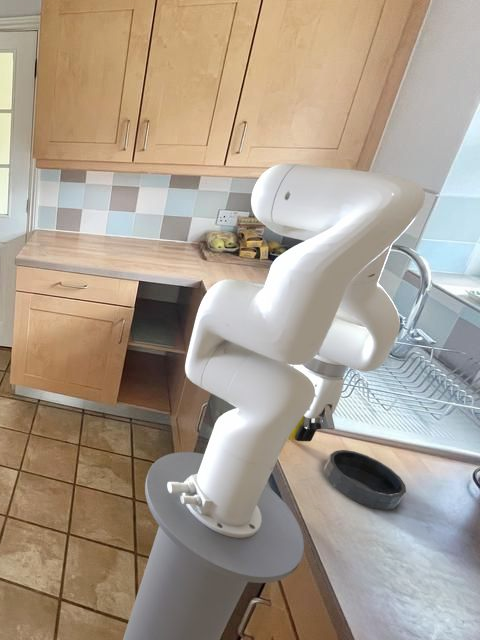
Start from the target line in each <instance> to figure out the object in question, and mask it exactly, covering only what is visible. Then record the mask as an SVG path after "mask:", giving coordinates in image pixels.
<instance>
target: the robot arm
mask: <svg viewBox="0 0 480 640" xmlns="http://www.w3.org/2000/svg"><path fill="white" fill-rule="evenodd" d="M425 199H426V193H425V190H424V189H423V187H421V186H420V185H419V184H418V183H417V182H415V181H412V180H410V179H407V178H404V177H402V176H396V175H392V174H387V173H381V172H375V171H366V170H358V169H348V168H336V167H327V166H319V165H309V164H301V163H300V164H299V163H279V164H276V165H273V166H272V167H269V168H268V169H267V170H265V171H264V172H263V173H262V174H261V175H260V176H259V178H258V179H257V181H256V183H255V184H254V187H253V189H252V193H251V198H250V205H251V210H252V213H253V215H254V216H255V219H257V220H258V221H259V222H260V223H261V224H263V225H264V226H265V227H266V228H267V229H269V230H270V231H272V232H273V233H275V234H277V235H279V236H282V237H286V238H290V239H296V240H298V241H299V240H300V241H302V242H300V243H298V244H296V245H294V246H292V247H291V248H288V250H286V251H284V252H283V253H281V254H280V255H279V256H277V257H276V258H275V259H274V261H273V262H272V263H271V265H270V267H269V272H268V274H267V277H266V280H265V283H264V286H260V285H257V284H254V283H251V282H247V281H245V280H240V279H235V278H227V279H222V280H219V281H217V282H216V283H214V284H213V285H212V286H211V287H210V288H209V289H208V290H207V292H206V293H205V295H204V296H203V298H202V300H201V302H200V305H199V307H198V310H197V313H196V315H195V320H194V325H193V329H192V333H191V336H190V341H189V346H188V350H187V353H186V359H185V364H184V372H185V375H186V377H187V379H188V380H189V381H190V382H191V383H193V384H194V385H196V386H197V387H199V388H201V389H202V390H204V391H206V392H208V393H209V394H211V395H213V396H215V397H217V398H218V399H221V400H223V401H225V402H226V403H228V404H229V405H232V406H233V407H235V408H233V409H231V410H228V411H226V412H224V413H223V414H222V415H220V416H219V417H218V418H217V419H216V420H215V421H216V422H215V423H214V426H213V428H212V431H211V435H210V437H209V440H208V443H207V446H206V448H205V452H204V453H203V454H204V457H203V460H202V463H201V466H200V469H199V471H198V474H195V475H191V476H190V477H189V478H187V479H186V481H184V483H179V482H168V483H167V488H168V491H169V492H170V493H182V495H183V496H182V495H181V497H180V499H181V503H182V504H186V506H187V507H188V509H189V510H190V511H191V513H192V514H193V515H194V516H195V517H196V518H197V519H198V520H199V521H200V522H202V523H203V524H204V525H206V526H207V527H209V528H210V529H212V530H214V531H216V532H218V533H220V534H223V535H226V536H230V537H235V538H246V537H250V536H252V535H254V534H255V533H256V532H257V531H258V530H259V528H260V526H261V522H262V519H261V513H260V510H259V508H258V506H257V503H258V501H259V499H260V497H261V495H262V492H263V490H264V488H265V486H266V485H268V484H267V483H268V482H269V479H270V477H271V475H272V473H273V471H274V468H275V466H276V464H277V462H278V460H279V458H280V455H281V453H282V451H283V449H284V447H285V445H286V443H287V441H288V440H289V439H288V437H289V436H290V434H291V432H292V431H293V429H294V428H295V427H296V425H297V424H298V423H299V421H300V420H301V419H302V417H303V416H304V417H305V419H304V425H301V426H300V427H299V430H298V432H297V434H296V436H295V439H296V440H295V441H296V442H311V441H312V440H313V438H314V436H315V434H316V432H317V430H335V429H336V427H335V422H334V417H333V415H334V413H335V411H336V408H337V406H338V404H339V401H340V399H341V396H342V392H343V388H344V384H345V378H344V376H345V375H346V372H347V370H348V369H349V368H350V369H353V370H355V371H358V372H362V373H363V372H364V373H366V372H373V371H376V370H378V369H380V367H382V365H384V363H385V362H386V361H387V359H388V358H389V356H390V354H391V351H392V349H393V347H394V346H395V342H396V341H397V338H398V335H399V333H400V329H401V320H400V319H401V317H400V313H399V312H398V311H399V310H398V309H397V307H396V304H395V303H394V301H393V300H392V298H391V297H390V295H389V294H388V292H386V290H385V289H384V288H383V287H382V286H381V285H380V283H379V281H380V278H381V276H382V273H383V271H384V268H385V265H386V263H387V260H388V257H389V254H390V252H391V250H392V246H393V244H394V243H395V242H396V241H397V240H398V239H399V238H400V237H401V236H402V235H403V234H404V233H405V232H406V231H407V230H408V228H409V227H410V226H411V225H412V224H413V222H414V221H415V219H416V218H417V216H418V215H419V214H420V212H421V210H422V208H423V206H424V203H425ZM313 420H314V422H312V421H313Z"/></svg>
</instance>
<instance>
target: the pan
mask: <svg viewBox="0 0 480 640" xmlns="http://www.w3.org/2000/svg"><path fill="white" fill-rule="evenodd" d="M323 473H324V476H325V477H326V479H327V481H328V482H329V484H331V486H333V488H335V489H336V490H337V491H338V492H339V493H341V494H343V495H344V496H345V497H347V498H349V499H350V500H352V501H354V502H356V503H358V504H361V505H362V506H365V507H368V508H371V509H375V510H381V511H388V510H392V509H395V508H397V506H398V505H399V503H400V502H401V501H402V499H403V498H404V496H405V495H406V493H407V488H406V487H407V486H406V484H405V482H404V481H403V479H402V478H401V476H399V475H398V474H397V473H396V472H395V471H394V470H392V468H390V467H388V466H387V465H385V464H384V463H383V462H381V461H379V460H377V459H375V458H373V457H371V456H369V455H367V454H364V453H361V452H357V451H354V450H348V449H339V450H333V452H332V453H330V455H329V456H328V458H327V460H326V462H325V464H324V467H323Z"/></svg>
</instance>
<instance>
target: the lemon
mask: <svg viewBox="0 0 480 640" xmlns="http://www.w3.org/2000/svg"><path fill="white" fill-rule="evenodd" d="M304 419H305V417H304V416H303V417H302V419H301V420H300V421H299V423H298V424H297V425H296V427H295V428H294V429H293V431H292V432H291V434H290V436H289V437H288V439H287V440H288V441H289V440H290V441H291V440H292V441H297V440H296V439H295V436H296V434H297V432H298V430H299V427H300V426H301V425H304Z"/></svg>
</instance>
